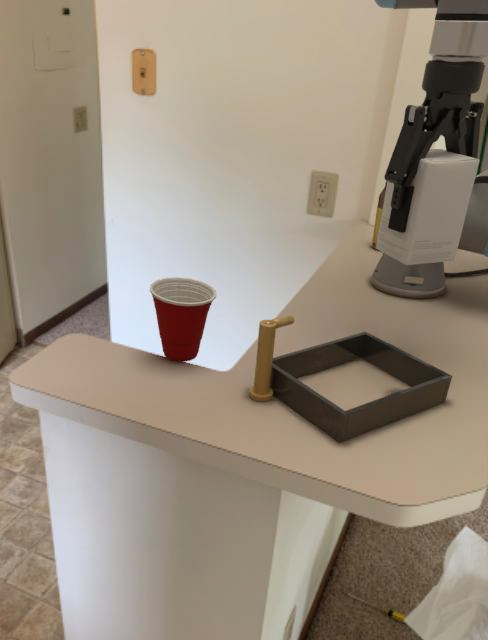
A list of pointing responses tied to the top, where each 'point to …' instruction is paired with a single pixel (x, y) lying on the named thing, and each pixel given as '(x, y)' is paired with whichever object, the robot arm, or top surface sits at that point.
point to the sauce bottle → (379, 215)
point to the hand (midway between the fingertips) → (420, 225)
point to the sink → (327, 416)
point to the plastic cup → (181, 315)
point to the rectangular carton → (431, 210)
